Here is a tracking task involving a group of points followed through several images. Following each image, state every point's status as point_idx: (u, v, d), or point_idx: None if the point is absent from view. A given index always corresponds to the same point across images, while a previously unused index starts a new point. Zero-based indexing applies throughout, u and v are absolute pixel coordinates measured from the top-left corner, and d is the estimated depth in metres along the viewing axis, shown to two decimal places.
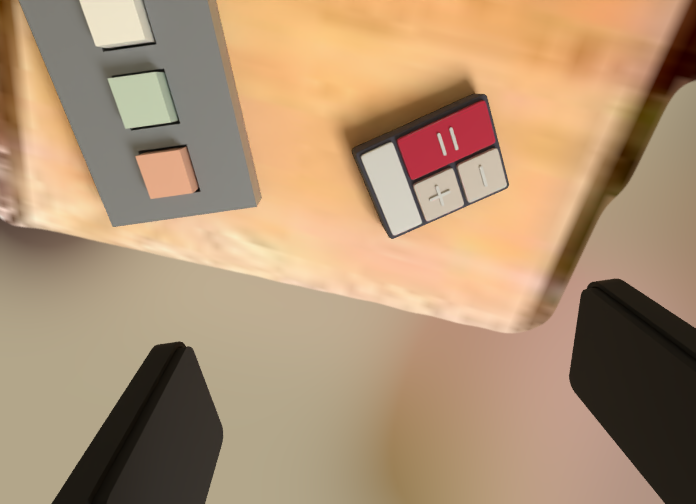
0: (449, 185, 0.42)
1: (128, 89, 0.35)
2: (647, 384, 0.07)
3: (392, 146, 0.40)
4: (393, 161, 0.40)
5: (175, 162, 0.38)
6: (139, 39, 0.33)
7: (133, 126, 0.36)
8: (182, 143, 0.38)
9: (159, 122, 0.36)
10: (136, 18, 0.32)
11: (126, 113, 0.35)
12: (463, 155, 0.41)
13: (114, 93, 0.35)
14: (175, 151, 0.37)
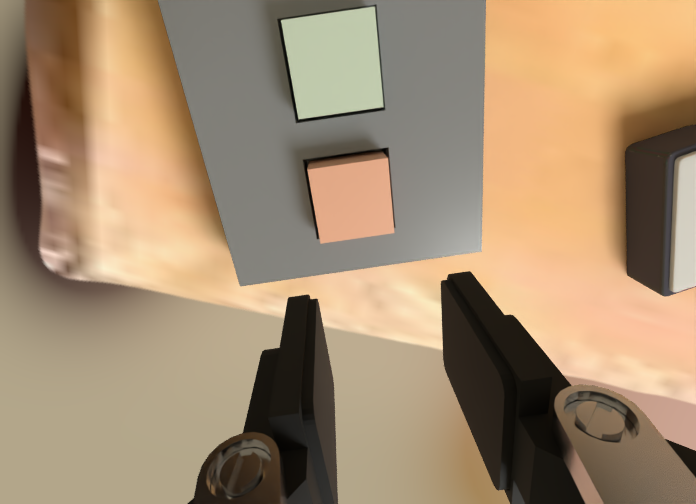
0: None
1: (317, 43, 0.18)
2: (469, 360, 0.08)
3: None
4: None
5: (375, 180, 0.21)
6: None
7: (314, 114, 0.19)
8: (381, 146, 0.22)
9: (362, 107, 0.19)
10: None
11: (305, 89, 0.19)
12: None
13: (289, 50, 0.18)
14: (380, 160, 0.20)
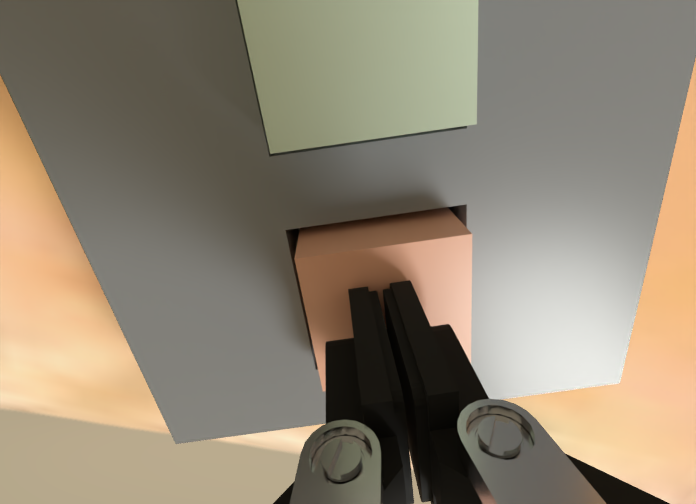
0: None
1: None
2: (400, 371, 0.08)
3: None
4: None
5: (441, 278, 0.10)
6: None
7: (307, 143, 0.08)
8: (452, 202, 0.10)
9: (426, 124, 0.08)
10: None
11: (285, 82, 0.07)
12: None
13: None
14: (454, 239, 0.09)
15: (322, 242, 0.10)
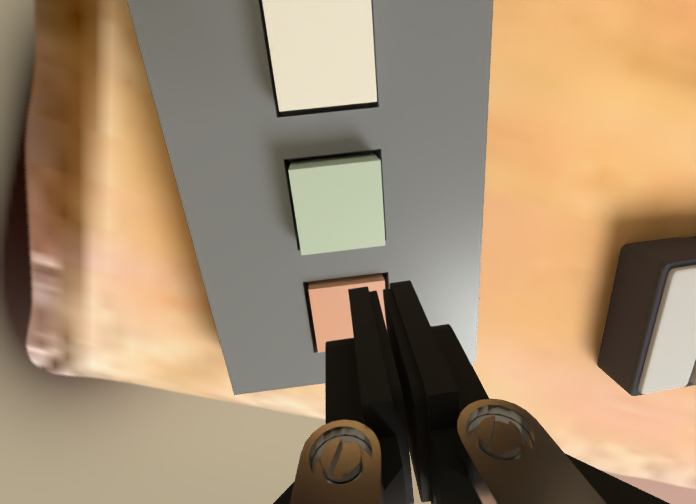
0: None
1: (323, 190, 0.18)
2: (400, 371, 0.08)
3: None
4: None
5: None
6: (365, 101, 0.17)
7: (317, 251, 0.19)
8: (381, 271, 0.22)
9: (365, 245, 0.20)
10: (370, 62, 0.16)
11: (309, 230, 0.19)
12: None
13: (295, 196, 0.18)
14: (377, 282, 0.22)
15: (320, 282, 0.22)
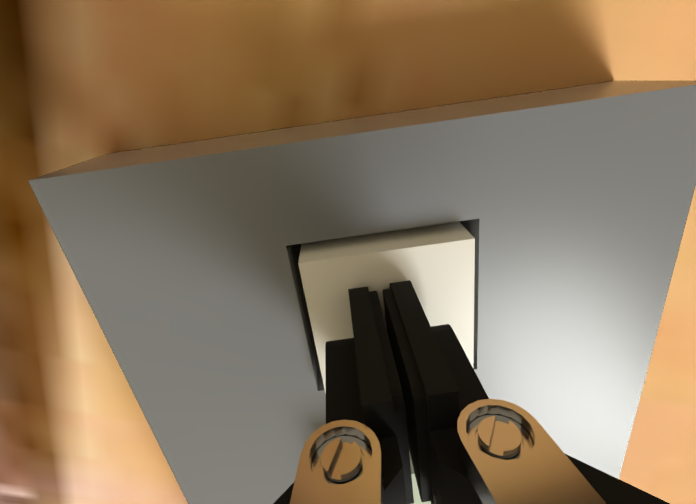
0: None
1: None
2: (399, 371, 0.08)
3: None
4: None
5: None
6: None
7: None
8: None
9: None
10: (467, 330, 0.10)
11: None
12: None
13: None
14: None
15: None
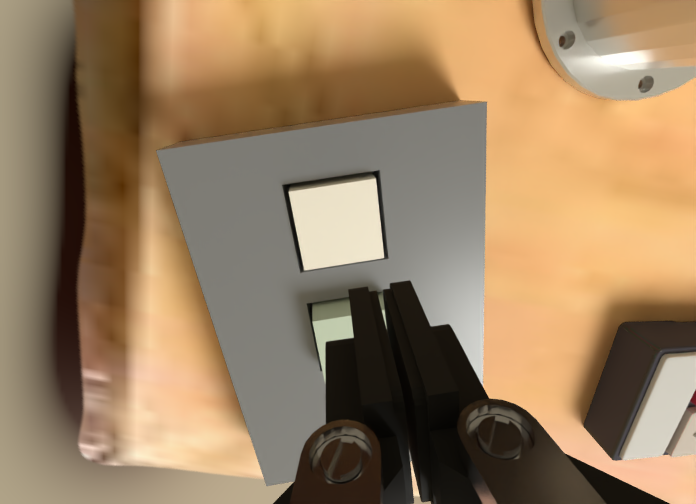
0: None
1: (342, 334, 0.21)
2: (400, 371, 0.08)
3: None
4: (694, 377, 0.27)
5: None
6: (374, 258, 0.21)
7: None
8: None
9: None
10: (377, 230, 0.20)
11: None
12: None
13: (319, 340, 0.21)
14: None
15: None
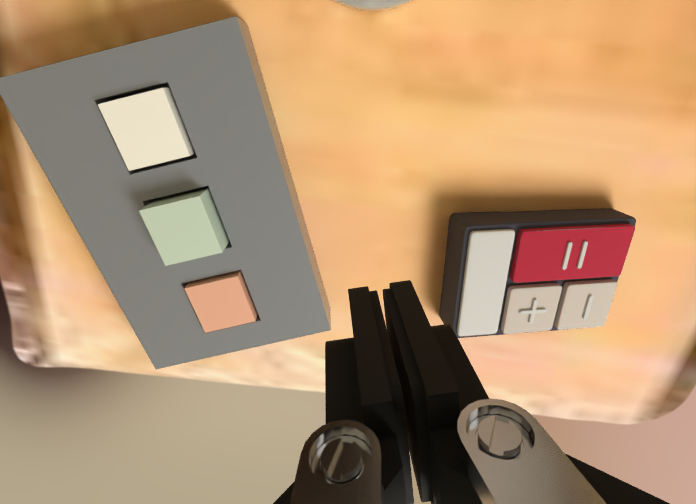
0: (548, 304, 0.33)
1: (166, 220, 0.27)
2: (400, 371, 0.08)
3: (513, 236, 0.30)
4: (504, 253, 0.31)
5: (232, 290, 0.30)
6: (182, 156, 0.26)
7: (175, 262, 0.28)
8: (235, 269, 0.30)
9: (207, 254, 0.28)
10: (177, 132, 0.25)
11: (165, 248, 0.27)
12: (580, 276, 0.32)
13: (148, 226, 0.27)
14: (232, 278, 0.30)
15: (195, 281, 0.31)
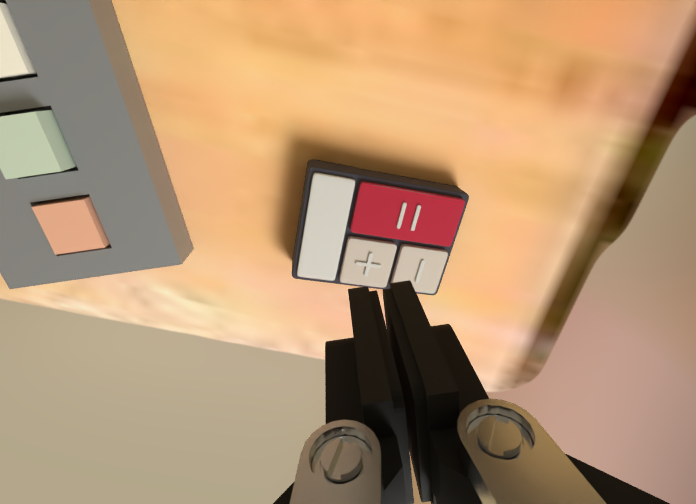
0: (383, 260, 0.36)
1: (3, 133, 0.28)
2: (400, 371, 0.08)
3: (352, 185, 0.33)
4: (344, 201, 0.33)
5: (80, 213, 0.32)
6: (21, 72, 0.27)
7: (15, 176, 0.29)
8: (83, 193, 0.32)
9: (47, 171, 0.29)
10: (14, 48, 0.27)
11: (4, 161, 0.29)
12: (414, 239, 0.35)
13: None
14: (79, 201, 0.31)
15: (45, 203, 0.32)
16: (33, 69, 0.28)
